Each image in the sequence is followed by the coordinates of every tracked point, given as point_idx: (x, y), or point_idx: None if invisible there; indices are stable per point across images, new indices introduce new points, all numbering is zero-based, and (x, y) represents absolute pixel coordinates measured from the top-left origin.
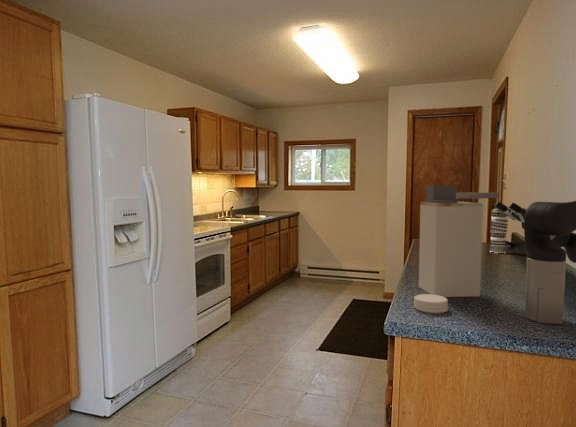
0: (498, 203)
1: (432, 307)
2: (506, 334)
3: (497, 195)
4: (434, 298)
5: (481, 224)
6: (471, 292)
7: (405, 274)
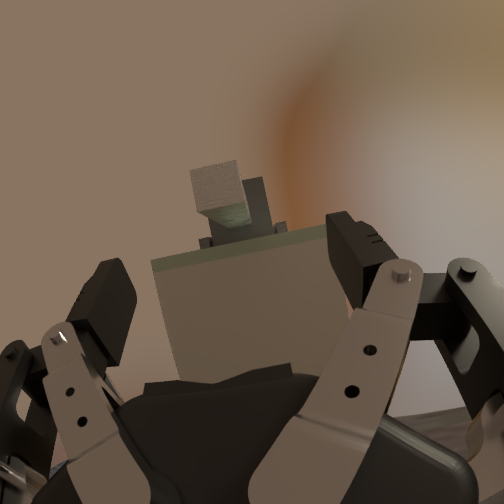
0: (329, 231)
1: None
2: (57, 468)
3: (194, 192)
4: None
5: (172, 348)
6: None
7: (461, 407)
